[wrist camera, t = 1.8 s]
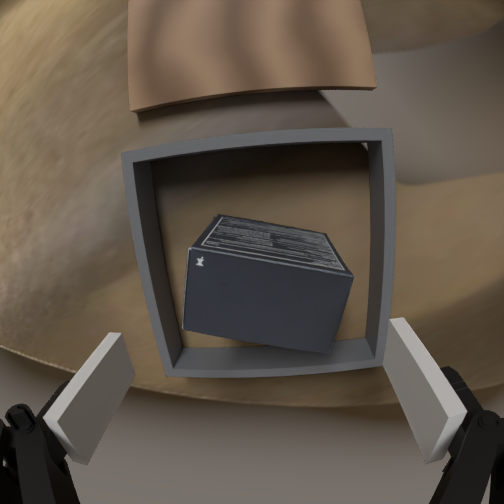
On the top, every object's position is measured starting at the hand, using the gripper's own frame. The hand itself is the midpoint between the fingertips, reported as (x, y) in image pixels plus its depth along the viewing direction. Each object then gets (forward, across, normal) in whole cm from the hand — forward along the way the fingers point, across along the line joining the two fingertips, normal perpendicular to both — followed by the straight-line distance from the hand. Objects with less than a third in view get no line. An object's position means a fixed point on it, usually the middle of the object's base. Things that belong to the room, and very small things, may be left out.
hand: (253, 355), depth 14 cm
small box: (+16, 0, 0) cm, 16 cm away
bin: (+16, 0, 0) cm, 16 cm away
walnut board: (+16, 0, -24) cm, 29 cm away
